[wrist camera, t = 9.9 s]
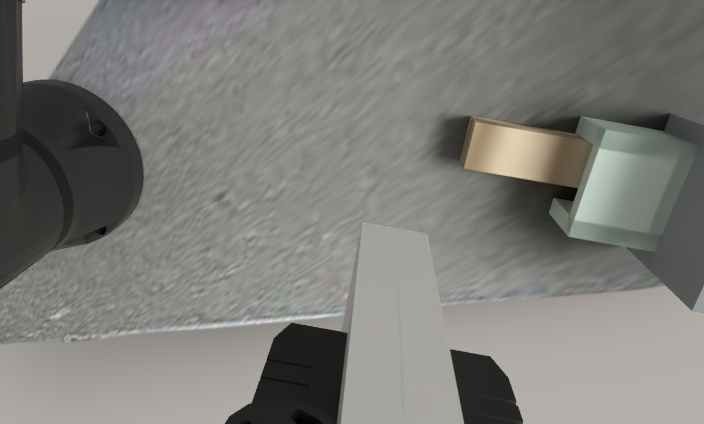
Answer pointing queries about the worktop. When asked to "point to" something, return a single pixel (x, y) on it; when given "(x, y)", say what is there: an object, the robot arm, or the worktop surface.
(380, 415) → the robot arm
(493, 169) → the slat
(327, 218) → the worktop surface
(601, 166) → the end cap
